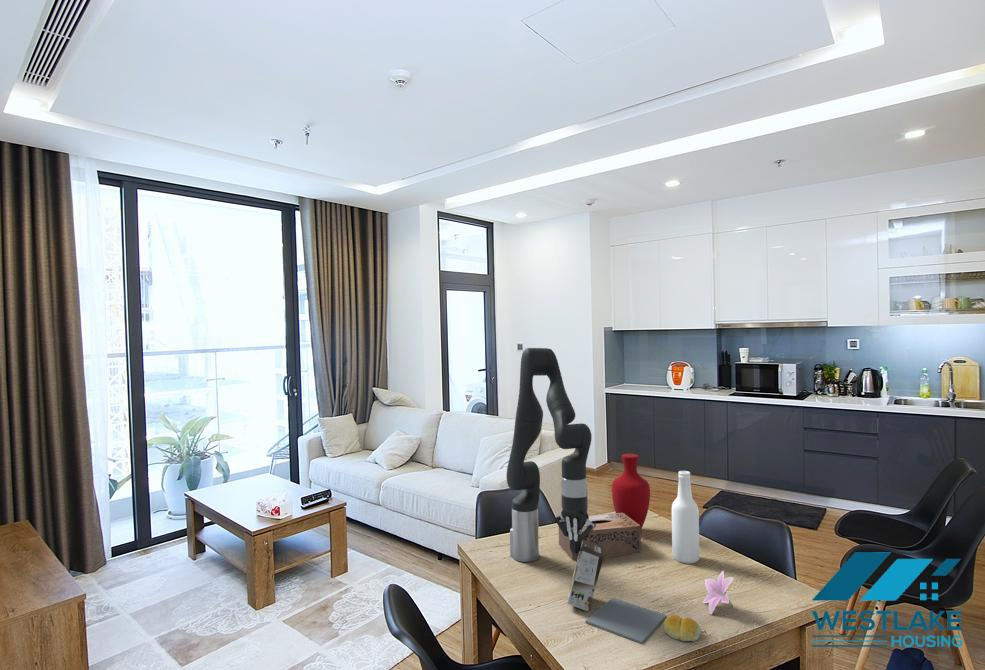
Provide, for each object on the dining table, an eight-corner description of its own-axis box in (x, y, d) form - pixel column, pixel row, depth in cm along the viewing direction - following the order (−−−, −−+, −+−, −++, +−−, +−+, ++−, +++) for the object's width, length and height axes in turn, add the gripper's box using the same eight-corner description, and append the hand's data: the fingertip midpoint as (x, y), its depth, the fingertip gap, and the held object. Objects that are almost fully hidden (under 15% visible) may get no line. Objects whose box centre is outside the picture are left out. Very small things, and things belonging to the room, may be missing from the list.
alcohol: (675, 551, 189) (673, 467, 189) (701, 556, 185) (699, 470, 185) (669, 561, 182) (668, 473, 182) (697, 566, 177) (695, 476, 177)
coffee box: (588, 612, 149) (604, 558, 148) (566, 604, 150) (581, 550, 150) (589, 596, 158) (604, 545, 157) (568, 588, 159) (583, 538, 158)
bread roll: (667, 621, 144) (667, 607, 144) (702, 631, 139) (702, 615, 139) (659, 636, 137) (659, 621, 137) (695, 646, 132) (695, 630, 132)
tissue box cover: (623, 538, 203) (622, 512, 203) (641, 553, 189) (640, 525, 189) (558, 545, 198) (558, 518, 198) (572, 561, 184) (571, 532, 184)
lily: (707, 596, 159) (693, 570, 158) (747, 589, 154) (732, 562, 153) (708, 629, 148) (692, 601, 147) (750, 622, 143) (734, 593, 142)
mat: (585, 622, 144) (585, 620, 144) (612, 599, 156) (612, 597, 156) (641, 643, 134) (641, 641, 134) (666, 617, 146) (666, 614, 146)
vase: (613, 537, 204) (612, 459, 204) (611, 523, 218) (610, 450, 218) (653, 539, 201) (651, 460, 201) (648, 525, 216) (647, 451, 216)
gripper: (548, 491, 156) (549, 551, 156) (587, 499, 148) (589, 562, 147) (561, 486, 162) (562, 543, 162) (600, 493, 153) (602, 553, 153)
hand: (575, 552), depth 155 cm, fingers closed
